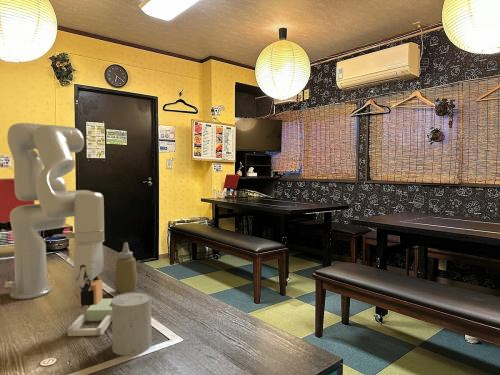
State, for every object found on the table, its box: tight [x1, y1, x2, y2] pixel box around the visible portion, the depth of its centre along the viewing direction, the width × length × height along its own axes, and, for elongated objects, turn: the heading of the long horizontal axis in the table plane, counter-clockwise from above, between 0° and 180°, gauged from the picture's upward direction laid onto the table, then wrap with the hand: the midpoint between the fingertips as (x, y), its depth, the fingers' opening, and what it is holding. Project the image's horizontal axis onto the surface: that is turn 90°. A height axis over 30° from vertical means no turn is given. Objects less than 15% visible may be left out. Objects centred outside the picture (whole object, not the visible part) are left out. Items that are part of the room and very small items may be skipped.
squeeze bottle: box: [114, 242, 139, 295], centre depth 126 cm, size 8×8×18 cm
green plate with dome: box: [67, 298, 113, 337], centre depth 102 cm, size 15×18×4 cm
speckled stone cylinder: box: [111, 291, 153, 356], centre depth 88 cm, size 10×10×12 cm
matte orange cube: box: [78, 279, 103, 306], centre depth 97 cm, size 5×5×6 cm
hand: (91, 300), depth 97 cm, fingers closed on matte orange cube, 4 cm apart
